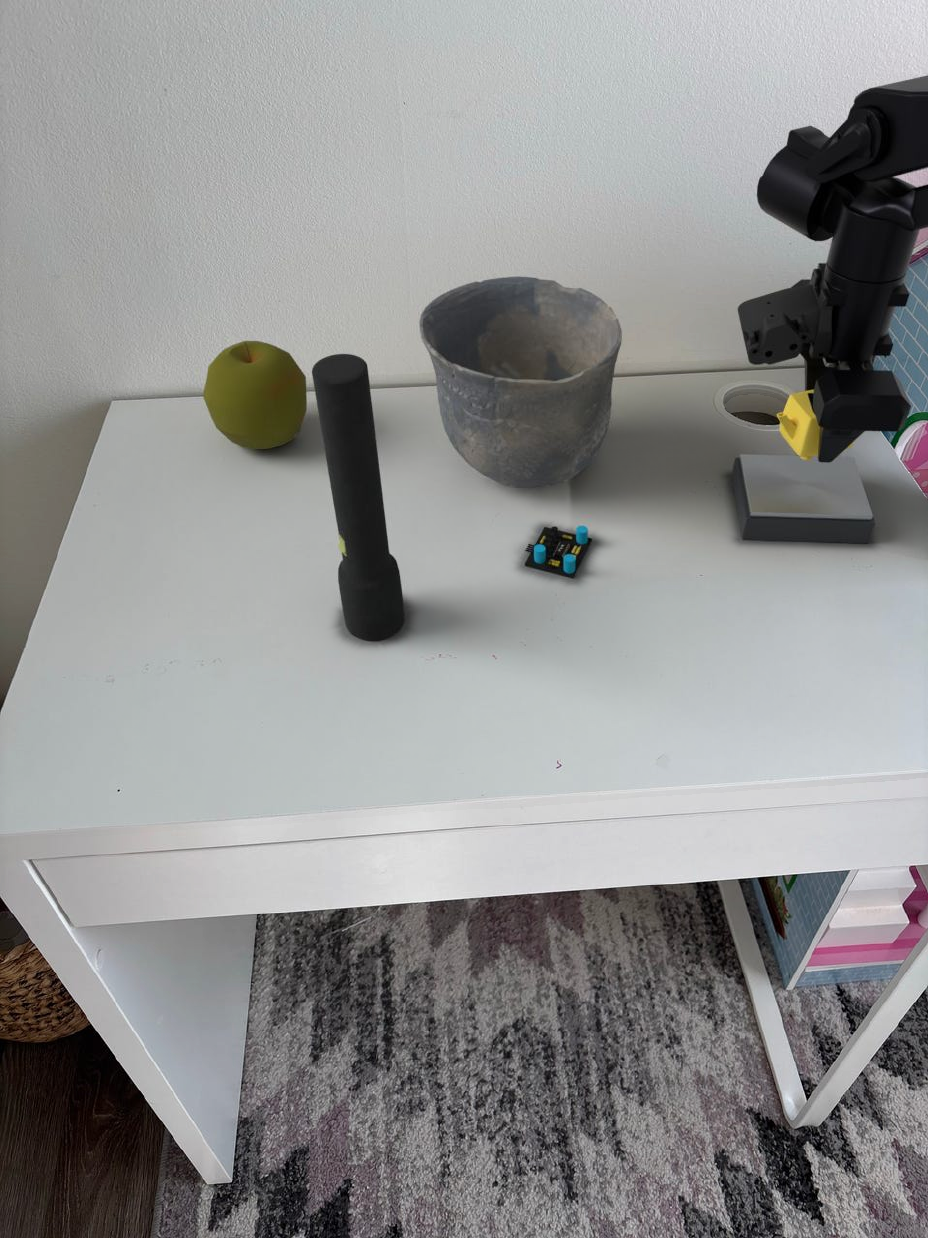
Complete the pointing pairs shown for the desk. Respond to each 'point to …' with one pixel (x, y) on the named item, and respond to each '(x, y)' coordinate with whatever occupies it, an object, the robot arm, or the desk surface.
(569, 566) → the circuit board
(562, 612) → the desk surface
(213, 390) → the apple
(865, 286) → the robot arm
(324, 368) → the flashlight
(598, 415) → the bowl
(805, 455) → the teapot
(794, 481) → the scale
